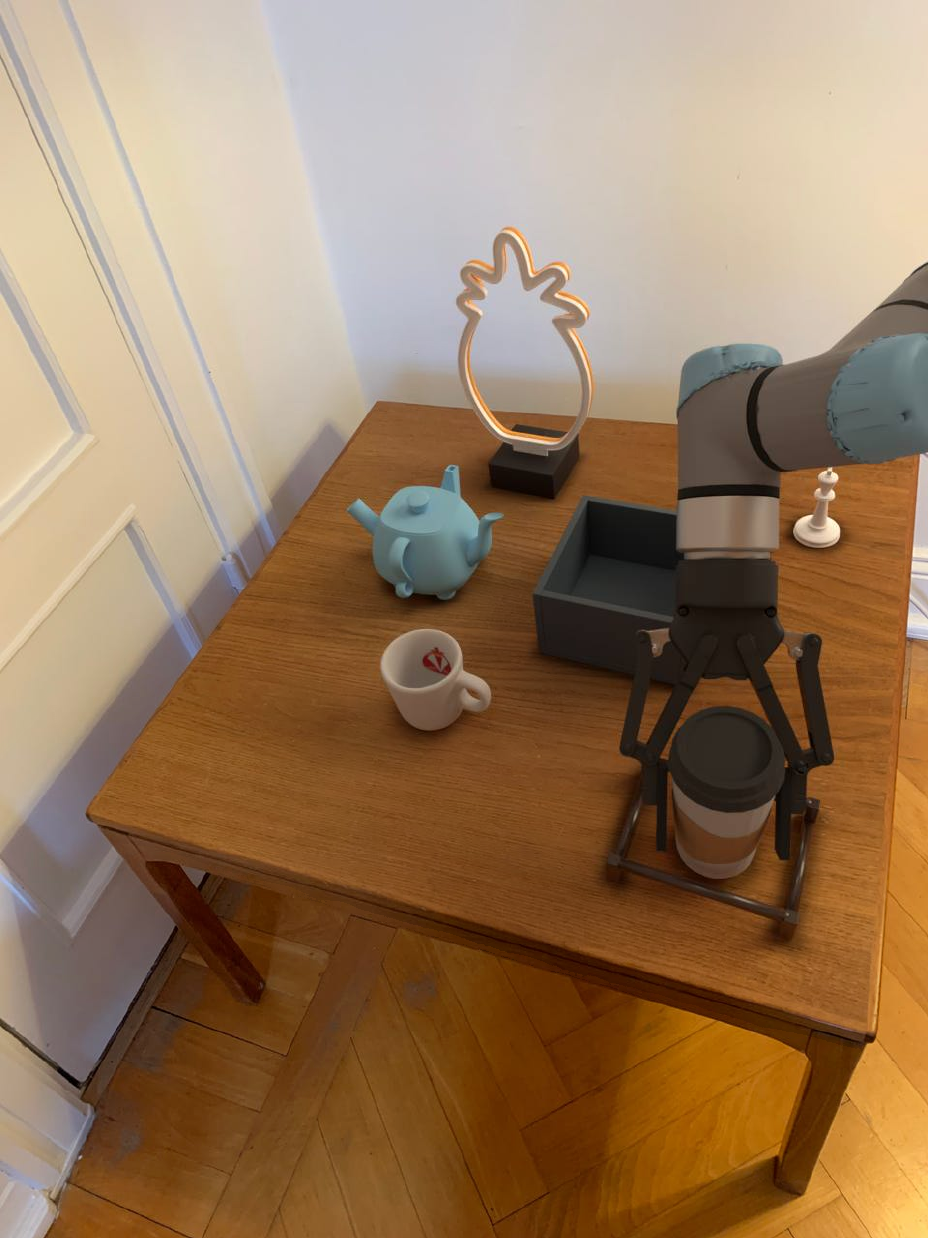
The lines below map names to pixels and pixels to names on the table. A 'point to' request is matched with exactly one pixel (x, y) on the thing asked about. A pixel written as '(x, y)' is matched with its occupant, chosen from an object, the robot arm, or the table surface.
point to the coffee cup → (723, 787)
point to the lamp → (546, 454)
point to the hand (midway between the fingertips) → (720, 850)
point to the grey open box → (610, 587)
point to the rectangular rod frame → (784, 916)
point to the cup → (430, 679)
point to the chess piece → (820, 516)
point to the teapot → (427, 538)
